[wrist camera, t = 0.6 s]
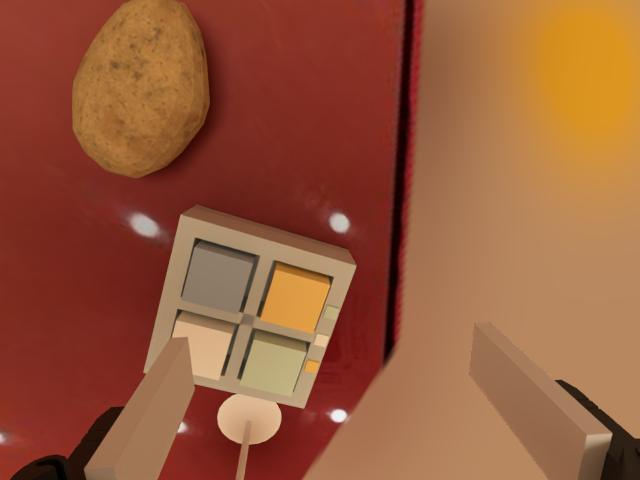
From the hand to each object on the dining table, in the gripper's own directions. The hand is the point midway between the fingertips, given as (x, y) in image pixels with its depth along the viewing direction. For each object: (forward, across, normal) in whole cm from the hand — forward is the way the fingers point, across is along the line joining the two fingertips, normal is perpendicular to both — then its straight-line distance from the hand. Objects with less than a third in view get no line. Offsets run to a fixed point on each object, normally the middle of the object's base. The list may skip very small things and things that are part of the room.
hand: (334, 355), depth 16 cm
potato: (+21, -13, +14) cm, 29 cm away
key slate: (+17, -9, -2) cm, 20 cm away
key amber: (+17, -2, -4) cm, 18 cm away
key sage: (+17, -4, -11) cm, 21 cm away
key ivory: (+17, -11, -9) cm, 22 cm away
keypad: (+21, -6, -6) cm, 23 cm away
